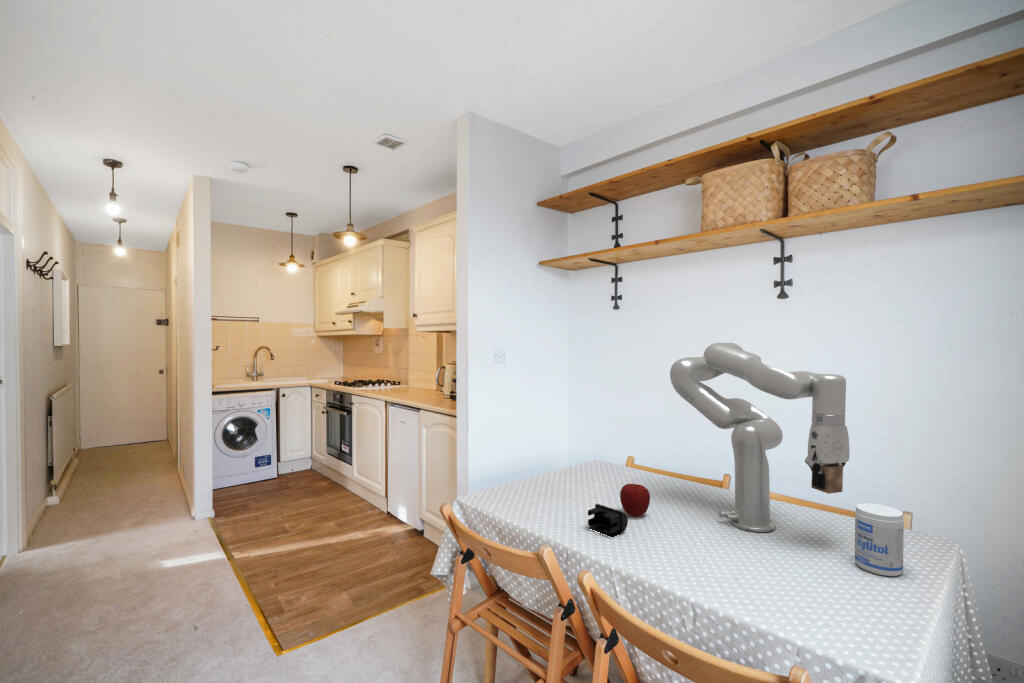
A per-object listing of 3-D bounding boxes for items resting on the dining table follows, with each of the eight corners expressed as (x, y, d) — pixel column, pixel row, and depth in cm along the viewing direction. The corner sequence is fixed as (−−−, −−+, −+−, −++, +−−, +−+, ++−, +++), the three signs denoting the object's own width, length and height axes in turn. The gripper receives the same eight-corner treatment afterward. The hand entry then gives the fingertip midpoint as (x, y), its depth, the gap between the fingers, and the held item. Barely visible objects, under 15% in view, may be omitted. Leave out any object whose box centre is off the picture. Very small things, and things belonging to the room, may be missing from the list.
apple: (639, 523, 150) (638, 490, 150) (614, 514, 157) (613, 484, 157) (656, 515, 156) (655, 484, 156) (631, 508, 163) (630, 478, 163)
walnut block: (828, 493, 127) (829, 467, 127) (811, 487, 132) (812, 462, 132) (842, 491, 129) (843, 465, 128) (825, 486, 133) (825, 461, 133)
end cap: (628, 532, 142) (628, 510, 142) (613, 539, 138) (613, 515, 138) (601, 523, 150) (601, 501, 150) (586, 529, 145) (586, 506, 145)
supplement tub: (853, 569, 118) (852, 509, 118) (856, 556, 125) (855, 500, 125) (903, 582, 112) (903, 518, 112) (904, 567, 119) (903, 507, 119)
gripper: (816, 424, 124) (815, 494, 124) (865, 420, 129) (863, 488, 129) (791, 418, 131) (790, 485, 131) (838, 416, 136) (836, 479, 136)
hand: (826, 485), depth 130 cm, fingers closed on walnut block, 5 cm apart
